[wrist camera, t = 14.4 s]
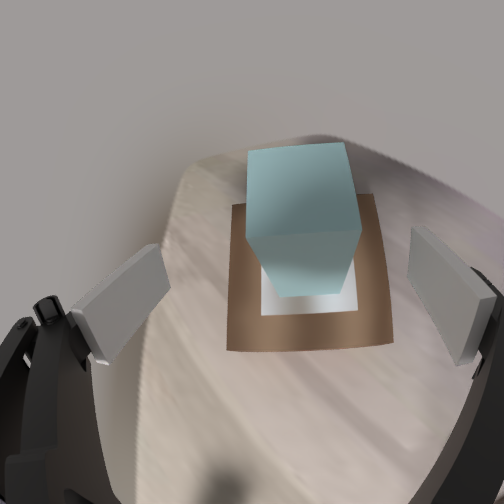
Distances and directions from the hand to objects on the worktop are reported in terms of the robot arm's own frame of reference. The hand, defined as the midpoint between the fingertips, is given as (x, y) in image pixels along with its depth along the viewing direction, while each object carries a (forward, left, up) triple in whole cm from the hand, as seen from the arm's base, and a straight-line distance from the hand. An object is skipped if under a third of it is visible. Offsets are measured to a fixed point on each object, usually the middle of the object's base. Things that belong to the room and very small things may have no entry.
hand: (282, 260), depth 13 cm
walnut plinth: (-1, -3, -14) cm, 15 cm away
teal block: (-1, -3, -10) cm, 10 cm away
